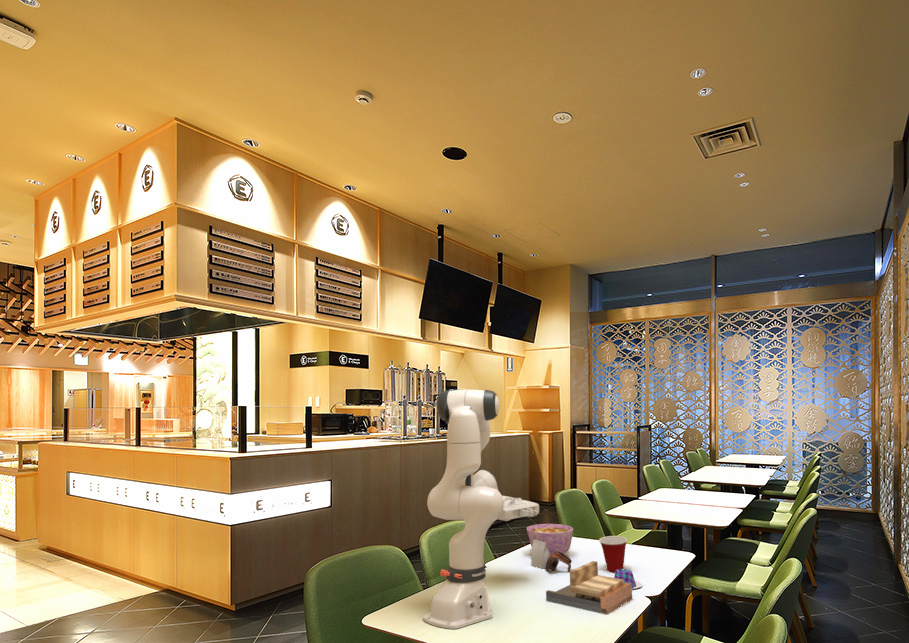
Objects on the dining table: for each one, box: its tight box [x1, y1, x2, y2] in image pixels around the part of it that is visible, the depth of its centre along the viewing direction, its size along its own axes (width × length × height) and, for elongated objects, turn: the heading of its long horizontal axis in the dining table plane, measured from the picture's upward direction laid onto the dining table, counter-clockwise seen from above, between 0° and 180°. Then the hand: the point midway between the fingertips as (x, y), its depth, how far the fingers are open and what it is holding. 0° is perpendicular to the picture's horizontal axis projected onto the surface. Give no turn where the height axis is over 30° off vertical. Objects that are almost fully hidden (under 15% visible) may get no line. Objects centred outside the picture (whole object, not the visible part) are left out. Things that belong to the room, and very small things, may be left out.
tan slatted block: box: [569, 560, 624, 601], centre depth 196 cm, size 16×11×9 cm
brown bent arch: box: [544, 551, 573, 573], centre depth 233 cm, size 12×10×8 cm
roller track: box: [545, 583, 633, 615], centre depth 198 cm, size 18×22×5 cm
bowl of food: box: [526, 523, 574, 555], centre depth 256 cm, size 20×20×12 cm
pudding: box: [613, 568, 643, 590], centre depth 213 cm, size 12×12×5 cm
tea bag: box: [530, 540, 550, 570], centre depth 240 cm, size 4×7×10 cm, turn 37°
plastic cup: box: [598, 535, 628, 574], centre depth 232 cm, size 11×11×12 cm
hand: (534, 513), depth 214 cm, fingers closed
